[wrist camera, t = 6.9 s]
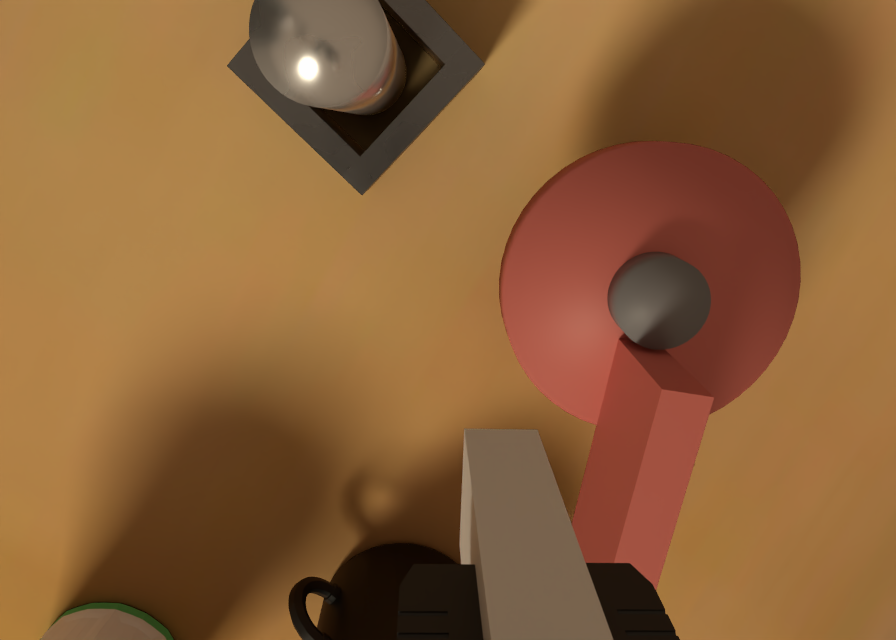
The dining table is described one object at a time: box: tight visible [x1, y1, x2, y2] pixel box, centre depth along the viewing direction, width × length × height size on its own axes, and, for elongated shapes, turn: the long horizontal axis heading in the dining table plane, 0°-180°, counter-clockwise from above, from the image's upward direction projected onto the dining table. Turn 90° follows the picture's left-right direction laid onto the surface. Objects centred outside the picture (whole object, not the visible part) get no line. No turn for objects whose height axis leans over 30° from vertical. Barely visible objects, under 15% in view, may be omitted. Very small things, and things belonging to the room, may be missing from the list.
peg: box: [249, 0, 407, 115], centre depth 26 cm, size 4×4×13 cm
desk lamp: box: [499, 141, 801, 590], centre depth 26 cm, size 12×19×8 cm, turn 170°
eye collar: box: [227, 0, 485, 195], centre depth 30 cm, size 8×8×4 cm
